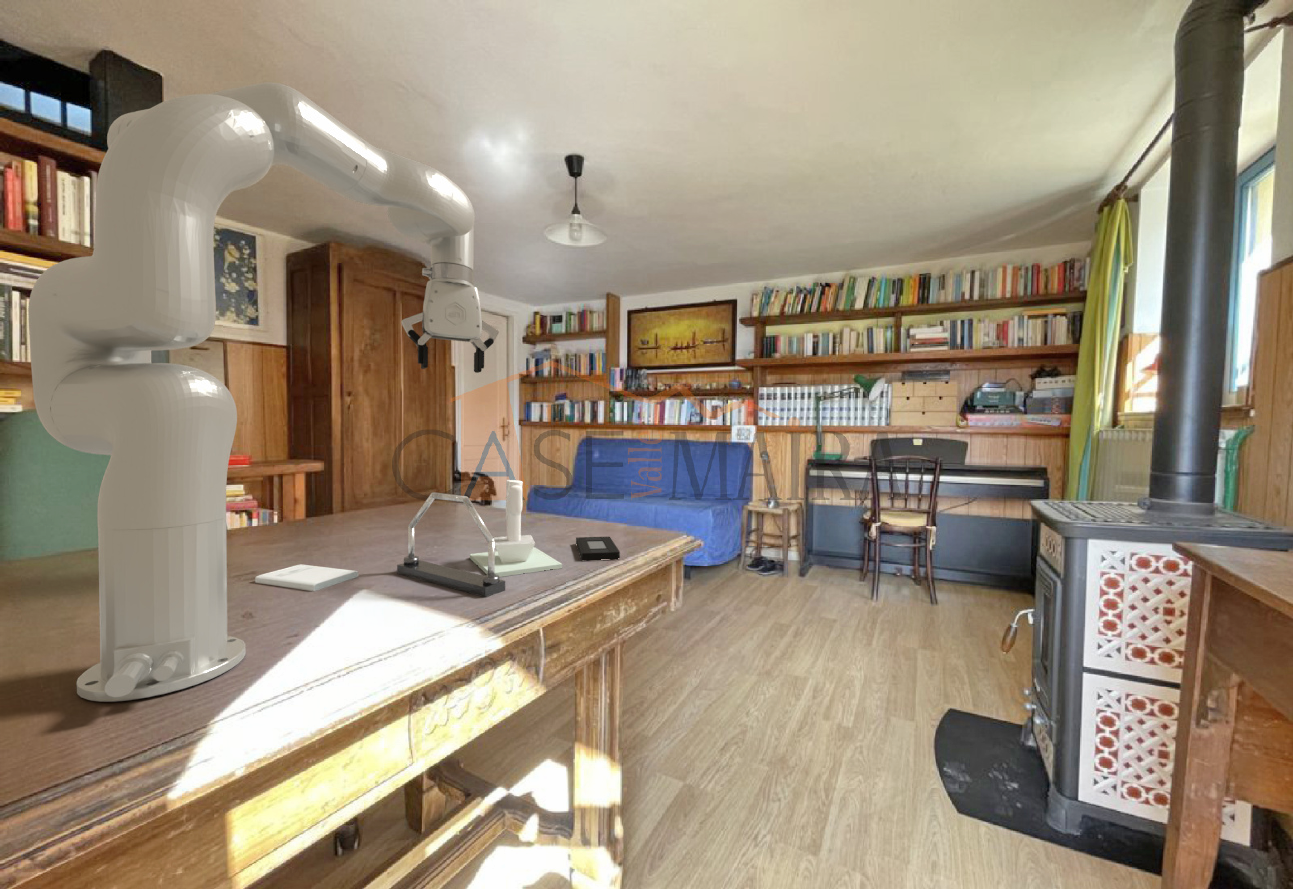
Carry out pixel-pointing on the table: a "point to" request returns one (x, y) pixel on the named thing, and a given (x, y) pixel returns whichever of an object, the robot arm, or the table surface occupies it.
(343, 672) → the table surface
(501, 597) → the table surface
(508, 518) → the figurine
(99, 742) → the table surface
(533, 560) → the mat
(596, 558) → the vhs tape
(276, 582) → the external hard drive
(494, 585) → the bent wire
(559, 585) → the table surface
